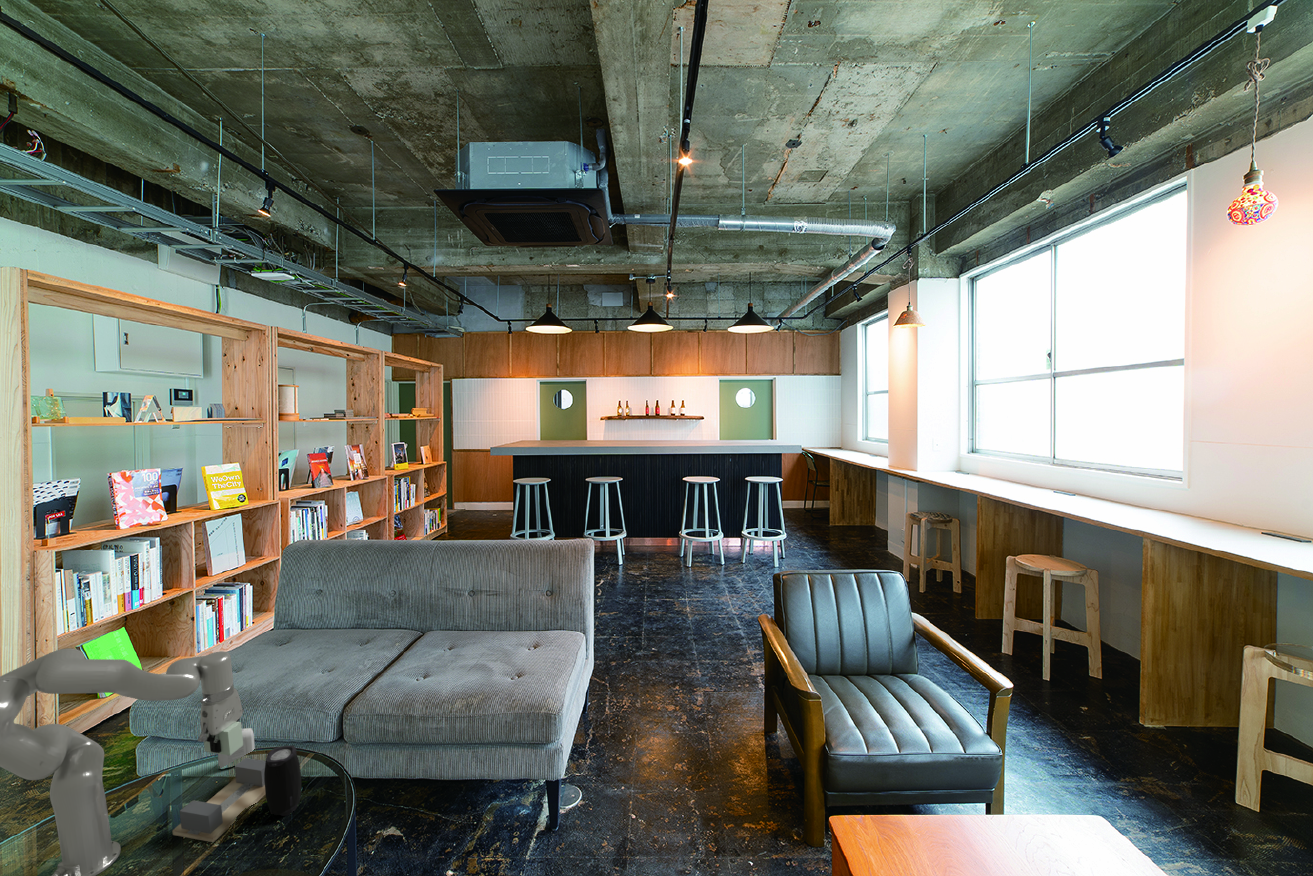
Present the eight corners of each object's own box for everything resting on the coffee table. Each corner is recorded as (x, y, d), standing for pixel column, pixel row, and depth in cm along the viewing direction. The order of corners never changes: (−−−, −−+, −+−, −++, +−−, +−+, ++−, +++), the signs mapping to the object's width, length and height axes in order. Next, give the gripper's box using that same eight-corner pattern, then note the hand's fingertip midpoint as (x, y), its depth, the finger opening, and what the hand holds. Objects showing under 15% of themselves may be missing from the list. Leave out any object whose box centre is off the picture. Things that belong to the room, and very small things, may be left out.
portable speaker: (267, 805, 173) (262, 750, 170) (301, 792, 178) (297, 739, 175) (267, 824, 166) (262, 767, 163) (303, 810, 171) (299, 754, 168)
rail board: (213, 842, 159) (211, 820, 158) (172, 834, 161) (170, 812, 160) (280, 780, 183) (279, 760, 182) (244, 774, 185) (243, 754, 184)
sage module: (230, 755, 166) (227, 732, 165) (204, 751, 168) (202, 728, 166) (243, 745, 171) (241, 722, 170) (218, 741, 172) (216, 718, 171)
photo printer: (256, 754, 194) (253, 722, 193) (255, 761, 191) (252, 729, 189) (219, 765, 189) (216, 733, 187) (218, 773, 185) (214, 740, 183)
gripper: (202, 711, 157) (208, 767, 160) (253, 678, 174) (257, 729, 177) (180, 708, 159) (186, 764, 161) (232, 675, 175) (237, 726, 178)
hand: (223, 745), depth 169 cm, fingers closed on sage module, 4 cm apart
